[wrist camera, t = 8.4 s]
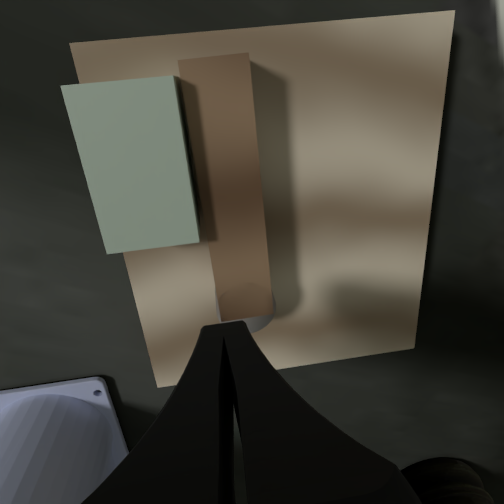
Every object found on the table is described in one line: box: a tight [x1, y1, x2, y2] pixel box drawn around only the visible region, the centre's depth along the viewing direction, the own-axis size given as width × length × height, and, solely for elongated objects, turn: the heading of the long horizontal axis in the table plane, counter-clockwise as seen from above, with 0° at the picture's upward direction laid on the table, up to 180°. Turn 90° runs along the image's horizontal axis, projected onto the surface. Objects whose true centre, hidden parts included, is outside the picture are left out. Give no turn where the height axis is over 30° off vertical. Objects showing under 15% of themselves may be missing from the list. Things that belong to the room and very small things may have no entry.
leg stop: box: [61, 75, 200, 254], centre depth 15 cm, size 6×4×3 cm, turn 5°
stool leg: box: [177, 52, 276, 333], centre depth 16 cm, size 12×3×2 cm, turn 6°
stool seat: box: [69, 10, 455, 388], centre depth 19 cm, size 18×16×2 cm
